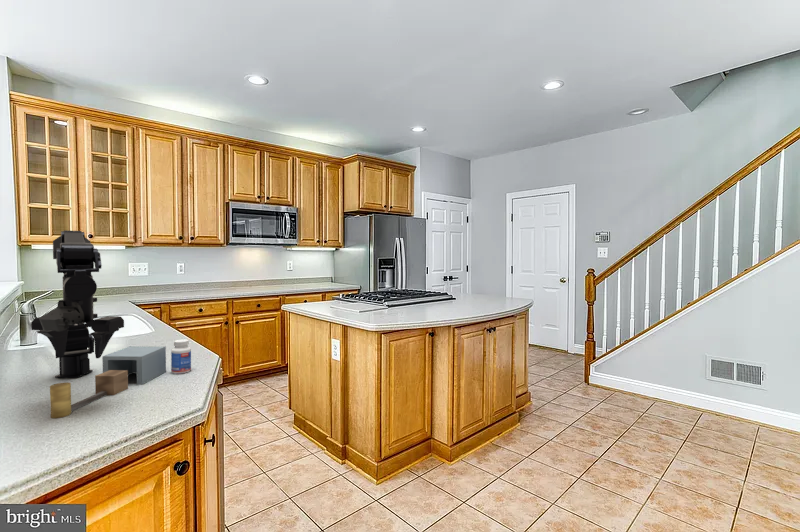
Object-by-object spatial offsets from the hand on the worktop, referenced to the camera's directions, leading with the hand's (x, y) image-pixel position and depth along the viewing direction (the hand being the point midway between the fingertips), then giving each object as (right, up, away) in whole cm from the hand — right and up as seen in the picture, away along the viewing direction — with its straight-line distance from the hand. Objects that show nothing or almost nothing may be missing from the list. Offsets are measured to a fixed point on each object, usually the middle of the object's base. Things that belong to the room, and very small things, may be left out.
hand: (79, 357), depth 97 cm
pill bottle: (+11, -11, +26) cm, 30 cm away
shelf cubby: (+1, -11, +19) cm, 21 cm away
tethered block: (+2, -11, +1) cm, 12 cm away
